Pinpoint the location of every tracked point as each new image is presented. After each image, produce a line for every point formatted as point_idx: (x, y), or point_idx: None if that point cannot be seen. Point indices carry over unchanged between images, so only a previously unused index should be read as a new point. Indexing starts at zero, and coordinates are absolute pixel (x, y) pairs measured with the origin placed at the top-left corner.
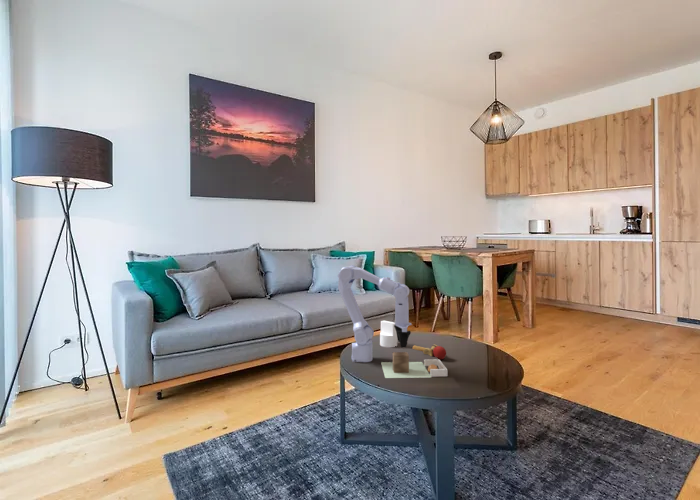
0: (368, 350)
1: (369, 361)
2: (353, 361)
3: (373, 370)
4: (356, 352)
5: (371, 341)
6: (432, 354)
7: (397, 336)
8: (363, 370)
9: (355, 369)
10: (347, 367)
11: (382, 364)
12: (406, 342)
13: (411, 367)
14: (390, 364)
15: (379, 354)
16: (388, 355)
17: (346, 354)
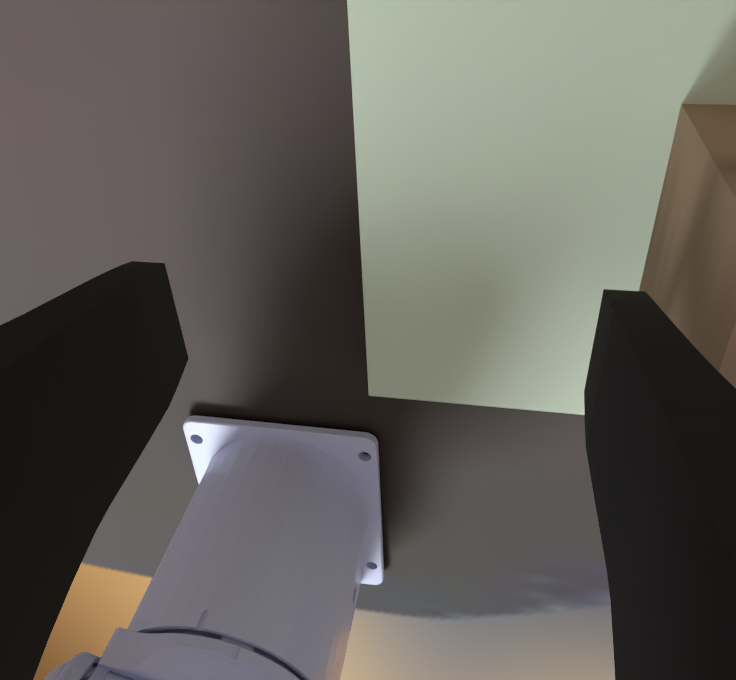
0: (325, 610)
1: (347, 488)
2: (357, 596)
3: (516, 453)
4: (336, 666)
5: (193, 657)
6: None
7: (125, 469)
8: (505, 524)
9: (472, 569)
10: (419, 605)
11: (446, 392)
12: (703, 377)
13: (632, 9)
14: (453, 308)
15: (6, 322)
16: (4, 229)
17: (104, 566)
